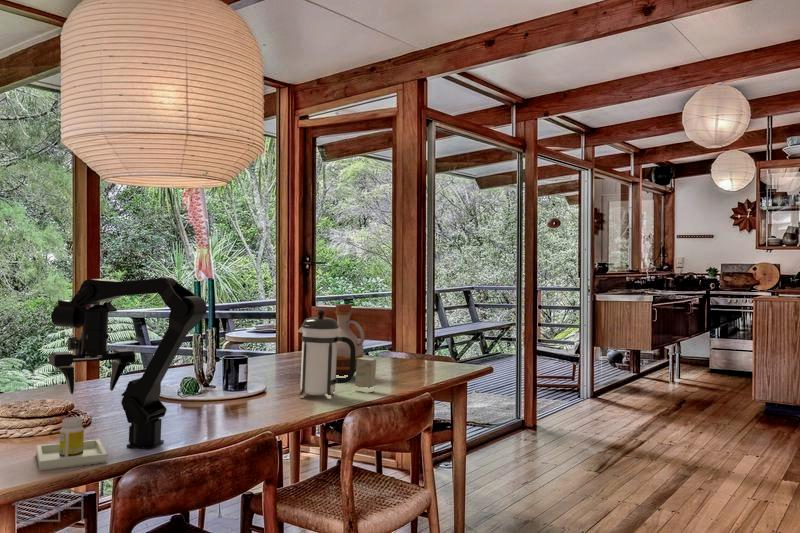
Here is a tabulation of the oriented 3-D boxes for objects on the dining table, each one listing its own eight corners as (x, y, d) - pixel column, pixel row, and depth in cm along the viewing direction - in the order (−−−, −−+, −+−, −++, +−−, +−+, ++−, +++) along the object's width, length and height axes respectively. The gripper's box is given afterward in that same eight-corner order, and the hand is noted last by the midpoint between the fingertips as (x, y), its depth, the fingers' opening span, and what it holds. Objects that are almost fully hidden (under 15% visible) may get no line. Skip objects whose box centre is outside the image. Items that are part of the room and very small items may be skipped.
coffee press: (312, 403, 210) (315, 312, 210) (287, 394, 223) (291, 308, 223) (355, 398, 221) (358, 311, 221) (329, 390, 234) (333, 308, 234)
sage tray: (98, 447, 152) (99, 439, 152) (106, 463, 141) (106, 454, 141) (36, 454, 145) (36, 445, 145) (39, 470, 134) (39, 461, 134)
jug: (374, 378, 262) (377, 305, 262) (348, 384, 247) (351, 306, 247) (336, 372, 273) (339, 302, 273) (309, 377, 257) (312, 303, 257)
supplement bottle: (86, 453, 146) (88, 416, 146) (76, 459, 141) (78, 421, 141) (65, 452, 146) (66, 416, 146) (54, 459, 141) (56, 421, 141)
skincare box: (354, 391, 233) (355, 358, 233) (360, 389, 237) (361, 357, 237) (369, 393, 230) (371, 360, 230) (375, 391, 234) (376, 358, 234)
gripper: (123, 325, 171) (120, 383, 171) (45, 327, 159) (42, 389, 159) (137, 329, 162) (134, 390, 162) (56, 331, 150) (53, 398, 150)
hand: (91, 392), depth 159 cm, fingers open, 9 cm apart
